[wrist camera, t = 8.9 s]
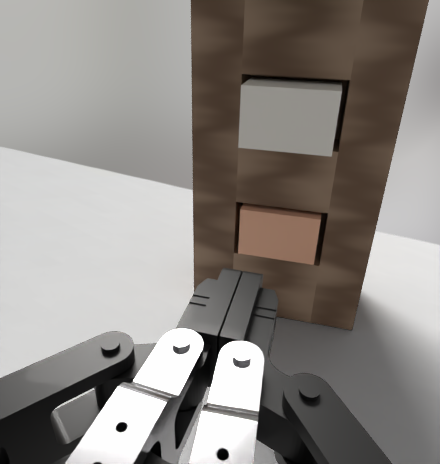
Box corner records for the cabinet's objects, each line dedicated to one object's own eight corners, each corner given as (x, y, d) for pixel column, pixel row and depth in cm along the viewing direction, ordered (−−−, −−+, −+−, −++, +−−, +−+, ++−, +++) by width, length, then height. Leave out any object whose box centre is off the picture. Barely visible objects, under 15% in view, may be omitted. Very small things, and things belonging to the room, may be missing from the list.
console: (194, 301, 32) (188, -174, 19) (214, 261, 37) (221, -134, 24) (352, 330, 29) (474, -197, 16) (350, 283, 34) (441, -146, 21)
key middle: (238, 147, 23) (241, 84, 21) (248, 133, 26) (252, 77, 24) (331, 156, 22) (341, 91, 20) (332, 141, 25) (341, 82, 23)
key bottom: (238, 253, 28) (240, 209, 27) (247, 232, 31) (249, 191, 29) (313, 265, 27) (320, 219, 26) (316, 242, 30) (322, 199, 28)
